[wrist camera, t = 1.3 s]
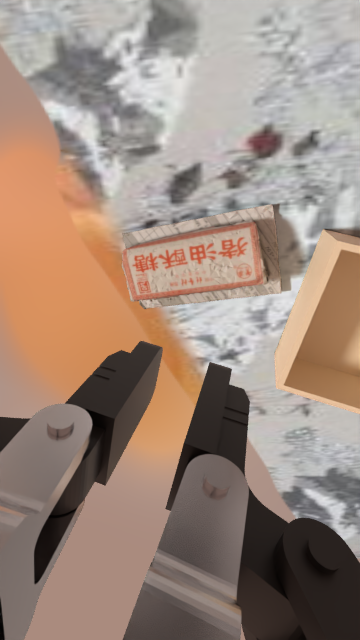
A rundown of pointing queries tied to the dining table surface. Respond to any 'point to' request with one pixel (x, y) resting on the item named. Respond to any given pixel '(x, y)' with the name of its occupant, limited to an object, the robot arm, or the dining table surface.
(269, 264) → the packaged product
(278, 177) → the dining table surface
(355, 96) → the dining table surface
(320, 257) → the mailer box
